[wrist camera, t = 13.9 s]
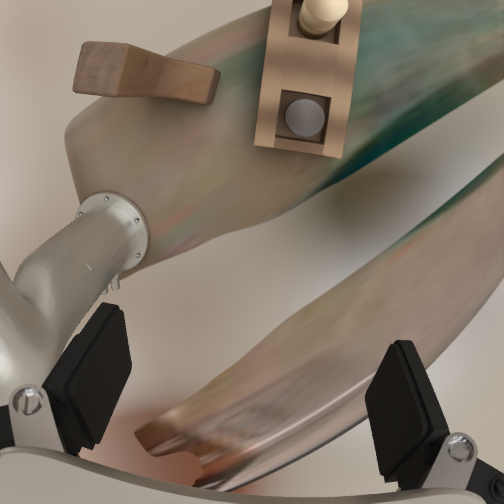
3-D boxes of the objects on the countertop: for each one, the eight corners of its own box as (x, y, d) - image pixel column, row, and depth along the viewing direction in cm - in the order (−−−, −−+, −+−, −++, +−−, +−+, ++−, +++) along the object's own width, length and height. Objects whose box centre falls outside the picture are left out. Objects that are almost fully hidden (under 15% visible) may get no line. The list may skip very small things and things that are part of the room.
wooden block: (221, 71, 35) (183, 49, 19) (212, 104, 37) (168, 107, 21) (155, 59, 35) (81, 40, 19) (147, 92, 37) (69, 92, 21)
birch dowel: (330, 13, 30) (349, -12, 21) (328, 42, 32) (347, 23, 23) (297, 8, 30) (306, -19, 21) (295, 37, 32) (303, 16, 23)
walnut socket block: (334, 152, 39) (345, 162, 33) (256, 140, 39) (252, 148, 33) (353, 8, 30) (368, -8, 24) (274, -6, 30) (274, -25, 24)
